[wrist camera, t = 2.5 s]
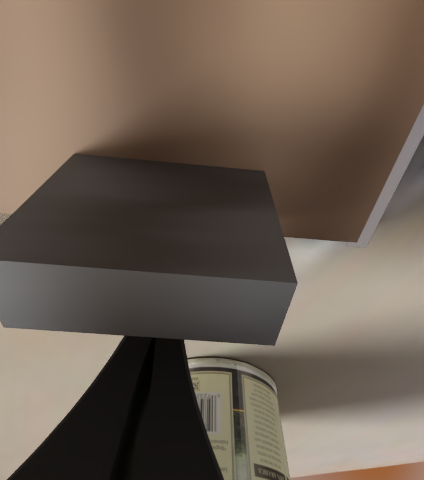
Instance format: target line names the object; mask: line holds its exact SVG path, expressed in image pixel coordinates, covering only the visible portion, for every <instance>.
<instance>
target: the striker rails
mask: <svg viewBox="0 0 424 480" xmlns="http://www.w3.org/2000/svg"><path fill="white" fill-rule="evenodd" d="M423 135H424V105H423V107H422V109H421V111H420V113H419V115H418V117H417V119H416V121H415V123H414V125H413V127H412V130H411V132H410V134H409V136H408V138H407V140H406V142H405V144H404V146H403V148H402V150H401V152H400V154H399V156H398V159H397V161H396V163H395V165H394V167H393V169H392V171H391V173H390V175H389V177H388V179H387V181H386V183H385V185H384V188H383V190H382V192H381V194H380V196H379V198H378V200H377V202H376V204H375V206H374V208H373V210H372V212H371V214H370V217H369V219H368V221H367V223H366V225H365V227H364V229H363V231H362V233H361V235H360V237H359V239H358V241H357V243H355V242H346V244H347V246H351V247H364V248H366V247H367V245H368V243H369V241H370V239H371V237H372V235H373V233H374V231H375V229H376V227H377V225H378V223H379V221H380V219H381V217H382V215H383V213H384V211H385V209H386V208H387V206H388V204H389V202H390V200H391V198H392V196H393V194H394V192H395V190H396V188H397V186H398V184H399V182H400V180H401V178H402V176H403V174H404V172H405V170H406V168H407V167H408V165H409V163H410V161H411V159H412V157H413V155H414V153H415V151H416V149H417V147H418V145H419V143H420V141H421V139H422V137H423Z"/></svg>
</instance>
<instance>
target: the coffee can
mask: <svg viewBox="0 0 424 480" xmlns="http://www.w3.org/2000/svg"><path fill="white" fill-rule="evenodd" d="M188 366H189V370H190V375H191V379H192V383H193V387H194V391H195V394H196V398H197V402H198V405H199V409H200V412H201V415H202V418H203V422H204V425H205V428H206V431H207V434H208V437H209V440H210V443H211V446H212V448H213V451H214V454H215V456H216V459H217V462H218V464H219V467H220V470H221V472H222V475H223V478H224V480H290V475H289V469H288V462H287V456H286V449H285V444H284V437H283V431H282V425H281V419H280V413H279V406H278V399H277V387H276V384H275V383H274V381H273V380H272V378H271V377H270V376H269V375H267V374H266V373H265V372H264V371H262V370H260V369H258V368H256V367H254V366H252V365H249V364H247V363H244V362H239V361H236V360H231V359H224V358H196V359H188Z"/></svg>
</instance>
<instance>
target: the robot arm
mask: <svg viewBox="0 0 424 480" xmlns="http://www.w3.org/2000/svg"><path fill="white" fill-rule="evenodd" d="M7 480H224V478H223V475H222V472H221V470H220V467H219V464H218V462H217V459H216V456H215V454H214V451H213V448H212V446H211V443H210V440H209V437H208V434H207V431H206V428H205V425H204V422H203V418H202V415H201V412H200V409H199V405H198V402H197V398H196V394H195V391H194V387H193V383H192V379H191V375H190V370H189V366H188V360H187V355H186V350H185V344H184V339H170V338H155V337H140V336H124V337H123V339H122V340H121V342H120V344H119V345H118V347H117V348H116V350H115V351H114V353H113V354H112V356H111V357H110V359H109V360H108V362H107V363H106V365H105V366H104V367H103V369H102V370H101V372H100V373H99V374H98V376H97V377H96V379H95V380H94V381H93V383H92V384H91V385H90V387H89V388H88V389H87V391H86V392H85V393H84V394H83V396H82V397H81V398H80V399H79V401H78V402H77V403H76V404H75V406H74V407H73V408H72V409H71V410H70V412H69V413H68V414H67V415H66V416H65V418H64V419H63V420H62V421H61V422H60V423H59V424H58V426H57V427H56V428H55V429H54V430H53V431H52V433H51V434H50V435H49V436H48V437H47V438H46V439H45V440H44V442H43V443H42V444H41V445H40V446H39V447H38V448H37V449H36V450H35V451H34V452H33V453H32V454H31V456H30V457H29V458H28V459H27V460H26V461H25V462H24V463H23V464H22V465H21V466H20V467H19V468H18V469H17V470H16V471H15V472H14V473H13V474H12V475H11V476H10V477H9V478H8V479H7Z"/></svg>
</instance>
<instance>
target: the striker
mask: <svg viewBox="0 0 424 480" xmlns="http://www.w3.org/2000/svg"><path fill="white" fill-rule="evenodd" d="M423 105H424V0H0V213H4V214H12V215H11V216H10V217H9V218H8V219H7V220H6V221H5V222H4V223H2V224H1V225H0V321H1V323H2V325H3V327H6V328H21V329H36V330H51V331H66V332H81V333H95V334H110V335H125V336H140V337H155V338H170V339H184V340H199V341H214V342H229V343H244V344H259V345H273V346H275V343H276V340H277V338H278V335H279V332H280V329H281V327H282V324H283V321H284V319H285V316H286V313H287V311H288V308H289V305H290V302H291V300H292V297H293V294H294V292H295V289H296V286H297V284H298V283H297V280H296V276H295V273H294V270H293V266H292V263H291V259H290V256H289V253H288V249H287V246H286V242H285V239H284V237H294V238H306V239H318V240H330V241H342V242H355V243H357V241H358V239H359V237H360V235H361V233H362V231H363V229H364V227H365V225H366V223H367V221H368V219H369V217H370V214H371V212H372V210H373V208H374V206H375V204H376V202H377V200H378V198H379V196H380V194H381V192H382V190H383V188H384V185H385V183H386V181H387V179H388V177H389V175H390V173H391V171H392V169H393V167H394V165H395V163H396V161H397V159H398V156H399V154H400V152H401V150H402V148H403V146H404V144H405V142H406V140H407V138H408V136H409V134H410V132H411V130H412V127H413V125H414V123H415V121H416V119H417V117H418V115H419V113H420V111H421V109H422V107H423Z"/></svg>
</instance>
